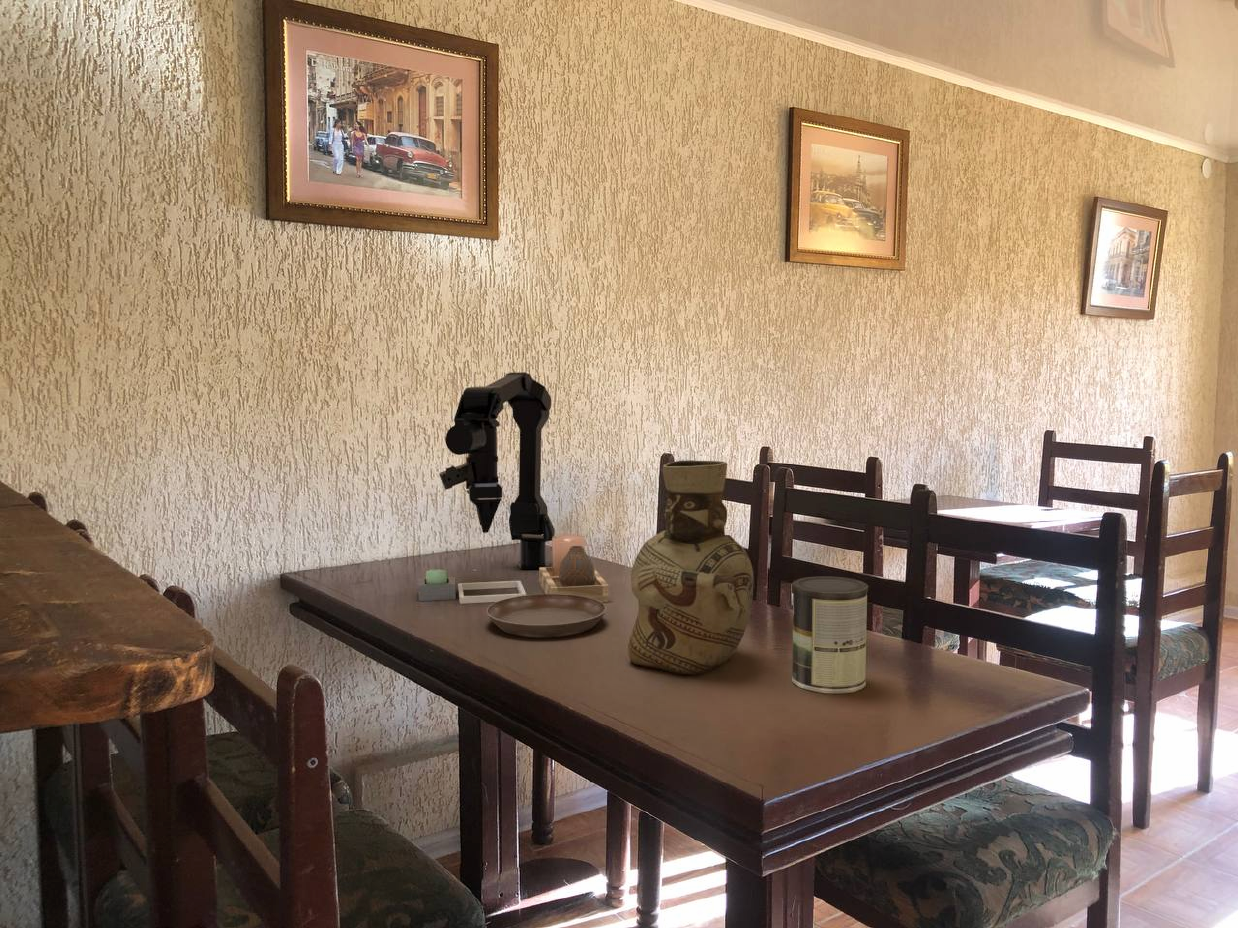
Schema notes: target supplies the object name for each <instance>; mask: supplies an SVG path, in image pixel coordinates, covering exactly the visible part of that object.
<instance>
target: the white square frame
mask: <svg viewBox="0 0 1238 928" xmlns="http://www.w3.org/2000/svg"><path fill="white" fill-rule="evenodd" d="M511 588H513V589H514V588H516V589H517V592H518V593H510V594H509V593H507V594H506V593H505V594H502V593H501V594H486V595H485V594H484V595H464V591H467V590H468V591H469V590H493V589H511ZM457 593H458V600H459V604H460V605H462V604H463V605H464V604H465V605H466V604H479V603H481V604H482V603H496V602H498V601H501V600H504V599H508V598H513V597H518V596H525V595H527V593H526V590H525V588H524V586H523V584H522V581H521V580H506V581H505V580H504V581H486V582H481V581H480V582H463V583H460V582H459V583H457Z"/></svg>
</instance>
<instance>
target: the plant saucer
mask: <svg viewBox="0 0 1238 928" xmlns="http://www.w3.org/2000/svg"><path fill="white" fill-rule="evenodd" d="M606 611H607V606H606V604H605V603H604V602H600V601H598V600H595V599H592V598H588V597H583V596H576V595H567V594H545V593H540V594H539V593H538V594H537V593H536V594H526V595H525V596H518V597H513V598H508V599H504V600H501V601H498V602H493V603H492V604H490V605H489V606H488V607H487V608H486V614H487V616H488V618H489V619H490V621H492V623H493V624H494V625H495V626H496V627H497V628H499V629H500V630H502V631H503V632H505V633H508V634H510V635H513V636H518V637H519V636H520V637H526V638H560V637H567V636H568V637H569V636H574V635H577V634H582V633H585V632H586V631H589V630H590V629H592V628H594V627H595V626H596V625H597V624H598V623H599V622H600V620H601V619H602V618H603V616H604V615H605V613H606Z"/></svg>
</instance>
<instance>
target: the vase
mask: <svg viewBox="0 0 1238 928" xmlns="http://www.w3.org/2000/svg"><path fill="white" fill-rule="evenodd" d="M594 569H595V565H594V562H593V560H592V558H591V557H590V556H589V555H588V554H587V552H586V550H585V551H584V549H583V547H582V546H571V547H570V549H569V551H568V553H567V554H566V556H565V557H564V558H563V560H562V562H561V564H560V568H559V579H560V583H561V585H562V587H570V586H591V585H593V582H594V577H595V570H596V569H595V570H594Z"/></svg>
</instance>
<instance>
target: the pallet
mask: <svg viewBox="0 0 1238 928" xmlns="http://www.w3.org/2000/svg"><path fill="white" fill-rule="evenodd" d="M538 570H539V571H538V573H539V574H538V575H539V577H538V579H539V580H538V581H539V585H540V586H541V588H542V591H543V592H544V594H567V595H576V596H583V597H588V598H592V599H595V600H598V601H600V602H602V603H609V602H610V594H609V593H610V588H609V587H610V586H609V584H608V582H606V580H605V579H604V578H603V577H602V576H601V575H600V573H599V572H598V571H597V570H596V569H595V568H594V570H595V577H594V582H593V585H591V586H570V587H562V585H561V583H560V579H559V576H553V566H549V567H540V568H539V569H538Z"/></svg>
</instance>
